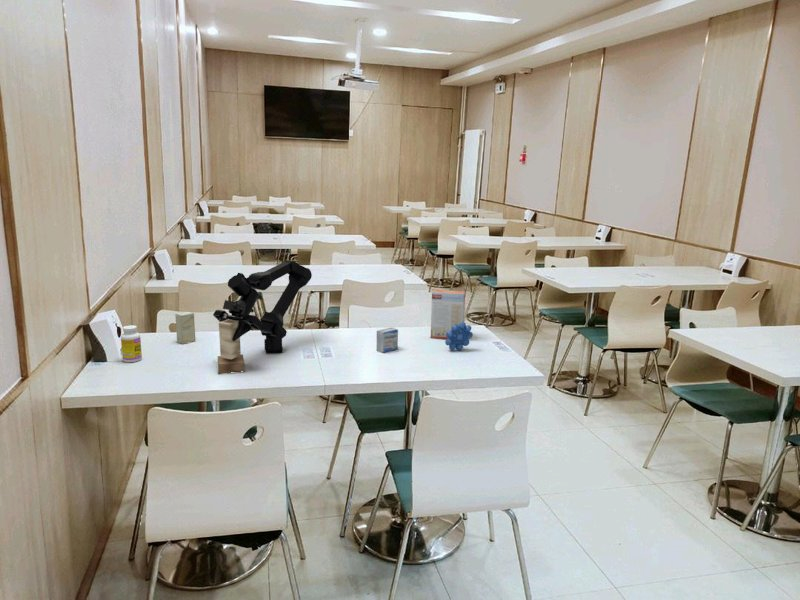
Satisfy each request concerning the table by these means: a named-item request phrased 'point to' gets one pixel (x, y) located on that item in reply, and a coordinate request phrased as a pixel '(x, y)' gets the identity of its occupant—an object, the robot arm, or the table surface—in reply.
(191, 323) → the skincare box
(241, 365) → the walnut block
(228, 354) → the oak post
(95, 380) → the table surface
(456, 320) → the cracker box
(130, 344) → the supplement bottle
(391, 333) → the medicine box
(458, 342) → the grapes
